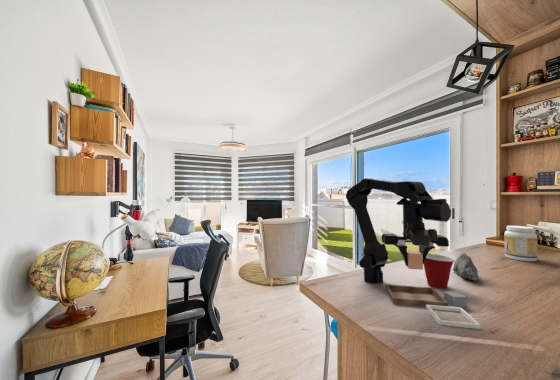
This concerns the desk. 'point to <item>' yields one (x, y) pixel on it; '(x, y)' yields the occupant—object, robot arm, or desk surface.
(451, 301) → the slate rubber block
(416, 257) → the terracotta block
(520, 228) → the supplement tub
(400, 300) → the walnut box
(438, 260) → the plastic cup
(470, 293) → the desk surface
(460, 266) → the mineral rock
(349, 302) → the desk surface
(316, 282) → the desk surface
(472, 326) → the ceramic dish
